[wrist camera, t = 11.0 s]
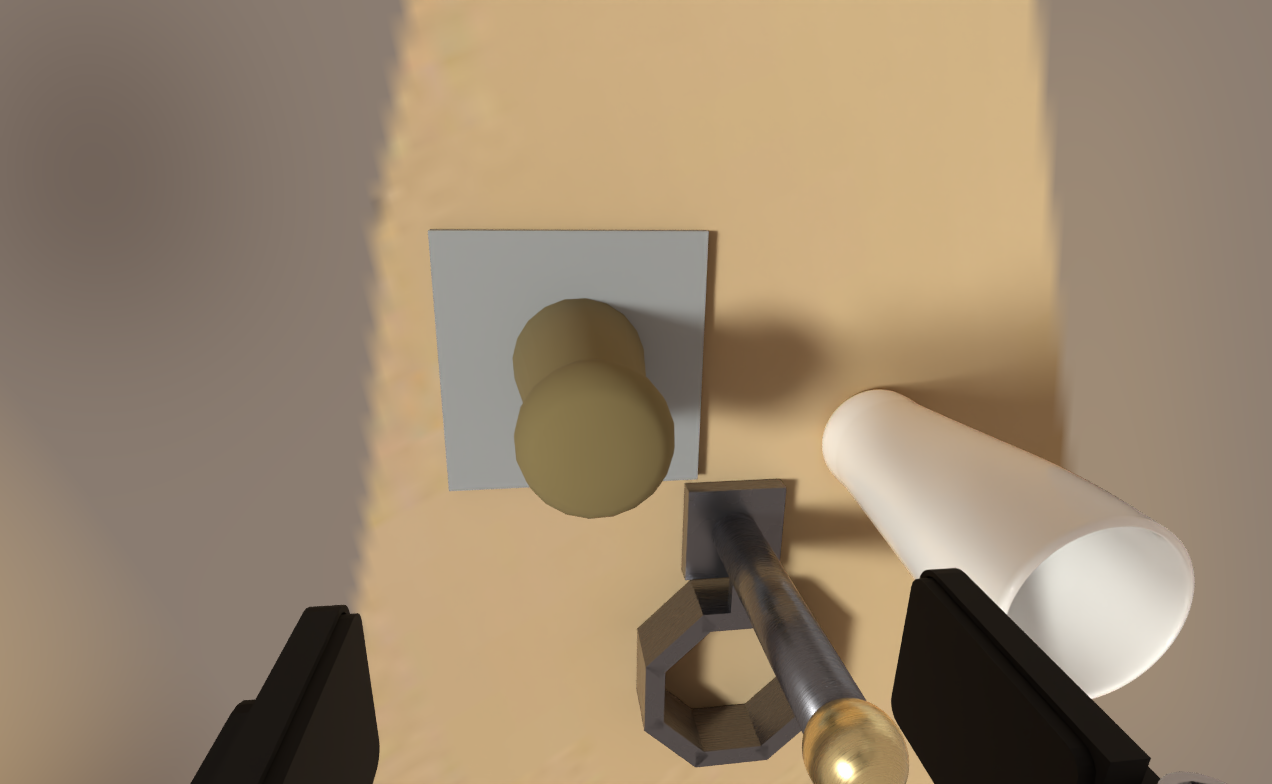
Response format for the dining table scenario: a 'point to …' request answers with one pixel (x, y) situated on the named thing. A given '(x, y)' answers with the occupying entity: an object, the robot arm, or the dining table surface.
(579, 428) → the olive rounded tall piece
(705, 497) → the ring stand
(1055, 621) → the drinking glass
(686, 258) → the mat
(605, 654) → the dining table surface
